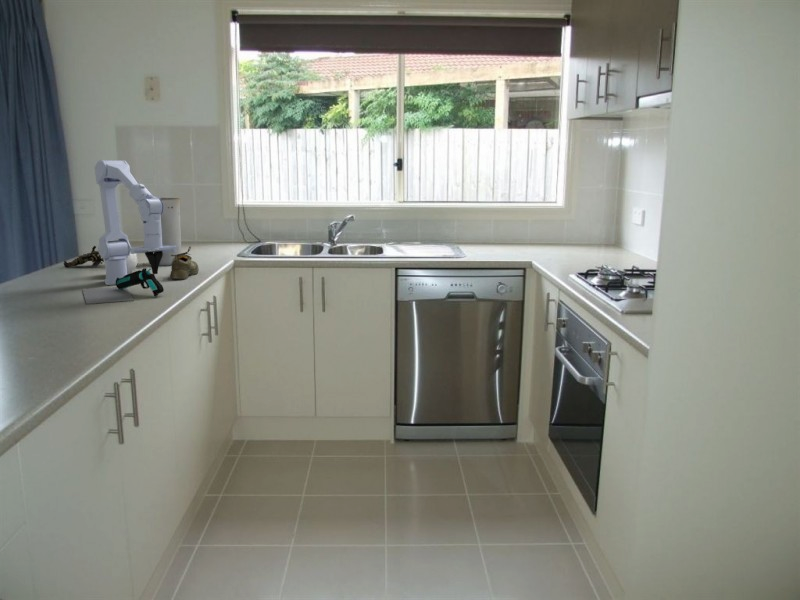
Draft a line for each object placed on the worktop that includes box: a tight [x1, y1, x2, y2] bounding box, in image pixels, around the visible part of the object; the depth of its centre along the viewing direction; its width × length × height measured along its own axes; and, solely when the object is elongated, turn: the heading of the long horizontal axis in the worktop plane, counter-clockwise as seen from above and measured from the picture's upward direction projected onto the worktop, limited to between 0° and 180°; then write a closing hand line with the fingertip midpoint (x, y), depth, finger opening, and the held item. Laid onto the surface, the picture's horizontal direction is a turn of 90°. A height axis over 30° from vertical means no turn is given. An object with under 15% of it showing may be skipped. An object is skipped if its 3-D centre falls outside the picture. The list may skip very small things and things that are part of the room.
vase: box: [155, 197, 183, 267], centre depth 286 cm, size 13×14×28 cm
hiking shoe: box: [169, 246, 200, 281], centre depth 261 cm, size 8×20×12 cm, turn 0°
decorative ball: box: [103, 252, 138, 274], centre depth 259 cm, size 12×12×12 cm
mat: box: [82, 286, 135, 305], centre depth 224 cm, size 24×14×1 cm, turn 27°
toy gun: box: [114, 268, 165, 297], centre depth 228 cm, size 3×20×10 cm, turn 63°
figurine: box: [63, 245, 104, 269], centre depth 278 cm, size 10×8×18 cm
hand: (155, 273), depth 230 cm, fingers closed
